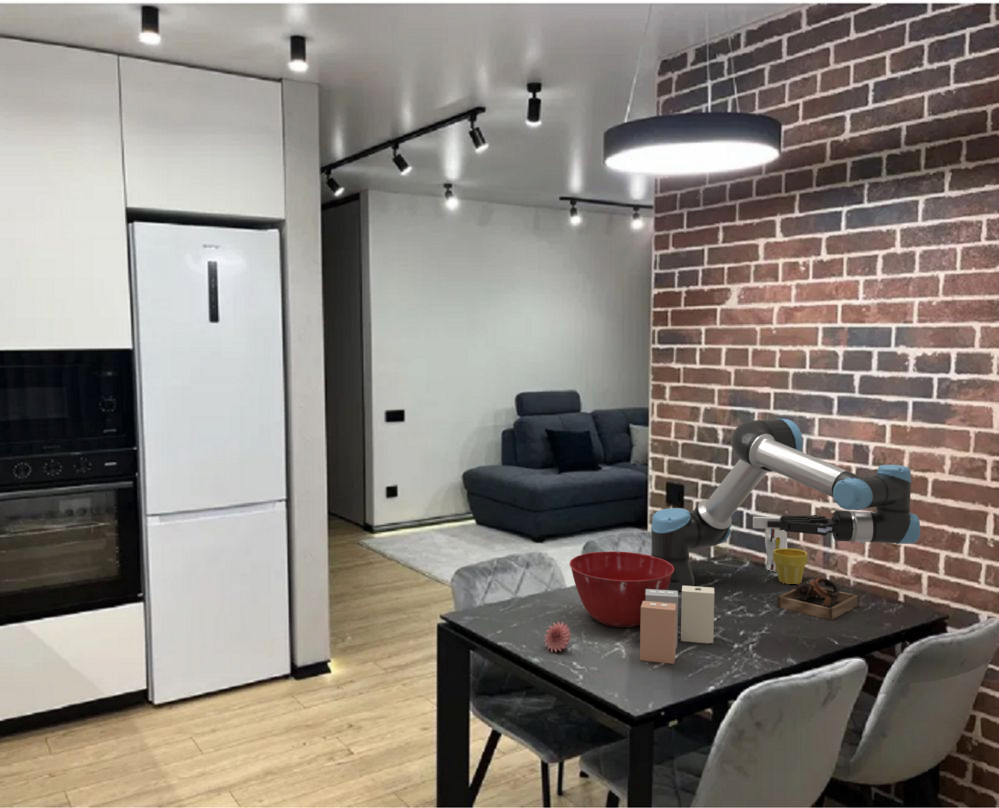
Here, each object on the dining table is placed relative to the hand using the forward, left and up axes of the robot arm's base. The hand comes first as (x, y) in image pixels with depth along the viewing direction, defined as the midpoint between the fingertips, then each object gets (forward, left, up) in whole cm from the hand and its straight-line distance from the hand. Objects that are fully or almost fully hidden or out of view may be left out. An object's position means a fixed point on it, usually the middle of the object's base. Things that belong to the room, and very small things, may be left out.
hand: (753, 522), depth 207 cm
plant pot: (-15, +53, -30) cm, 63 cm away
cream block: (-9, -12, -30) cm, 33 cm away
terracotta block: (-8, -30, -30) cm, 43 cm away
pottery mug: (-1, +40, -30) cm, 50 cm away
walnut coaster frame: (+2, +36, -30) cm, 47 cm away
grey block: (-13, -21, -30) cm, 39 cm away
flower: (-28, -43, -30) cm, 60 cm away
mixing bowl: (-31, -14, -30) cm, 46 cm away
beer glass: (-25, +63, -30) cm, 75 cm away
